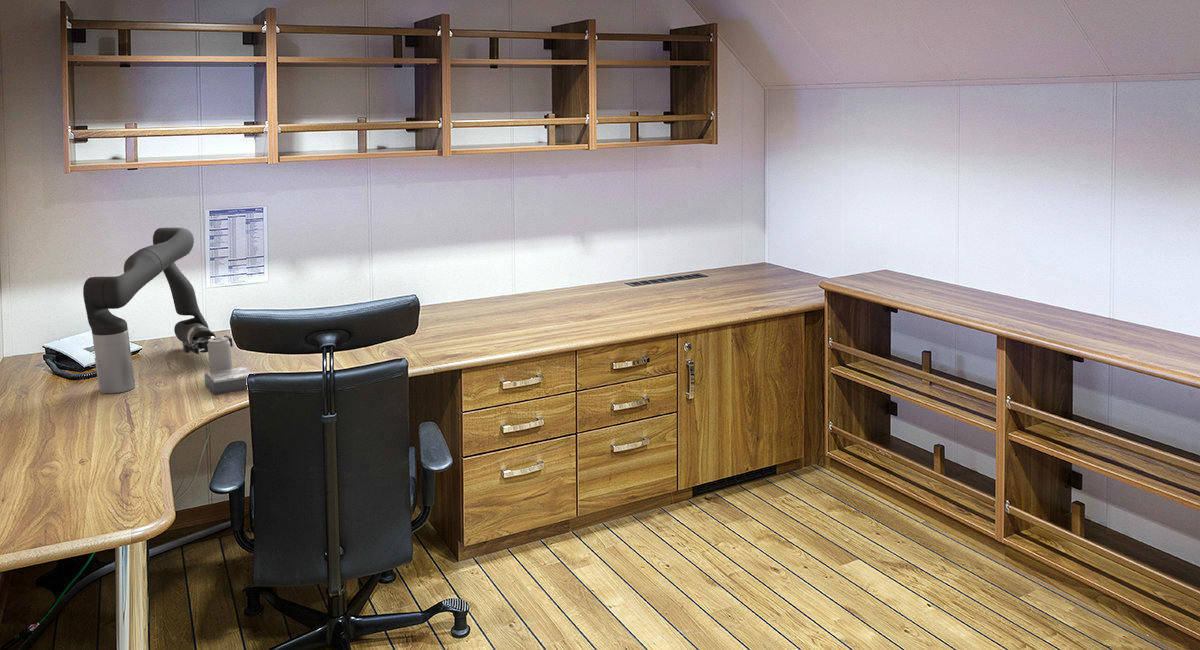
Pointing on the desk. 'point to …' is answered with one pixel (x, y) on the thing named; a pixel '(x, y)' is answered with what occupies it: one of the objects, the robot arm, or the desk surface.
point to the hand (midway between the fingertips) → (212, 348)
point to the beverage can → (219, 354)
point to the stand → (227, 380)
